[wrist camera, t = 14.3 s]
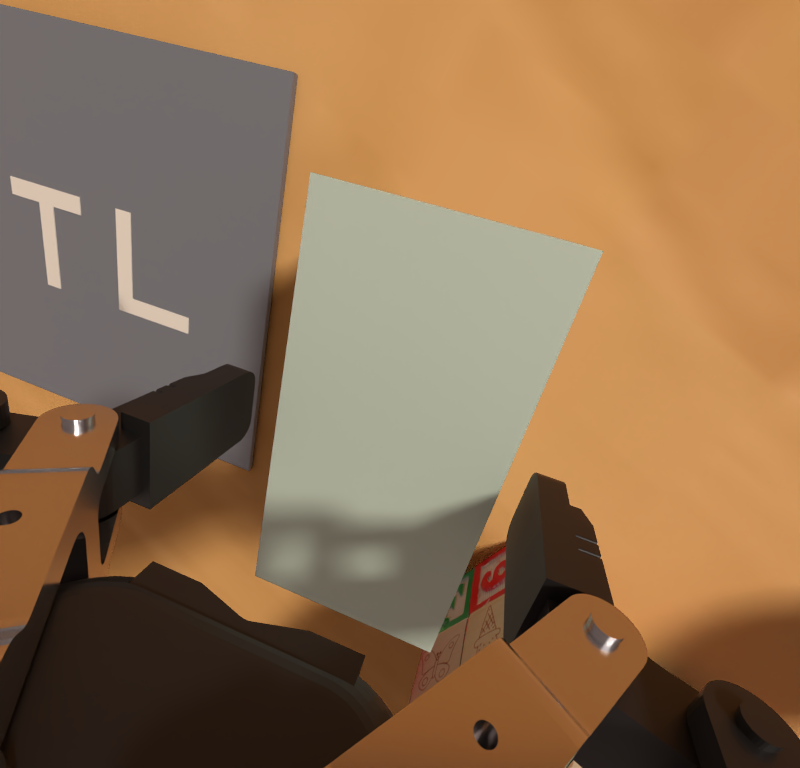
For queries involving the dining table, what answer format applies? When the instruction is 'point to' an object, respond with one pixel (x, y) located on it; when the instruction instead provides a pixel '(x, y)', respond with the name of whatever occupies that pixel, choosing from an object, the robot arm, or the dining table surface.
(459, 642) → the stack of blocks
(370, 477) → the sage block
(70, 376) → the gray tile
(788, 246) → the dining table surface
